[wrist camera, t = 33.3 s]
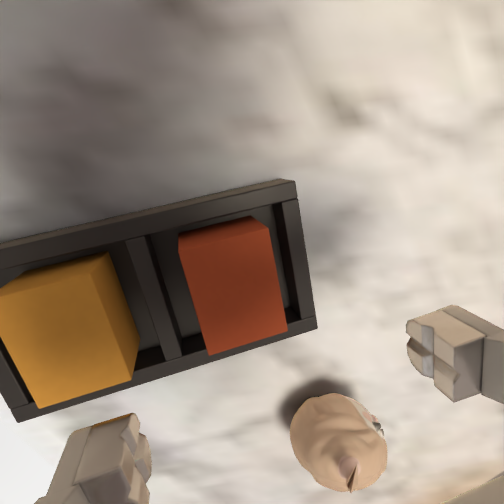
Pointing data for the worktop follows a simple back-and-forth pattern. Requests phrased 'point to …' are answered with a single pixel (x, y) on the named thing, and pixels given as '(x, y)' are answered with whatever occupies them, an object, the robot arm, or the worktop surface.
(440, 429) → the worktop surface
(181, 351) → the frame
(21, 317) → the yellow-orange rectangular block
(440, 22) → the worktop surface
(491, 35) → the worktop surface
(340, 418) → the garlic bulb
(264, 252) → the orange-red rectangular block
